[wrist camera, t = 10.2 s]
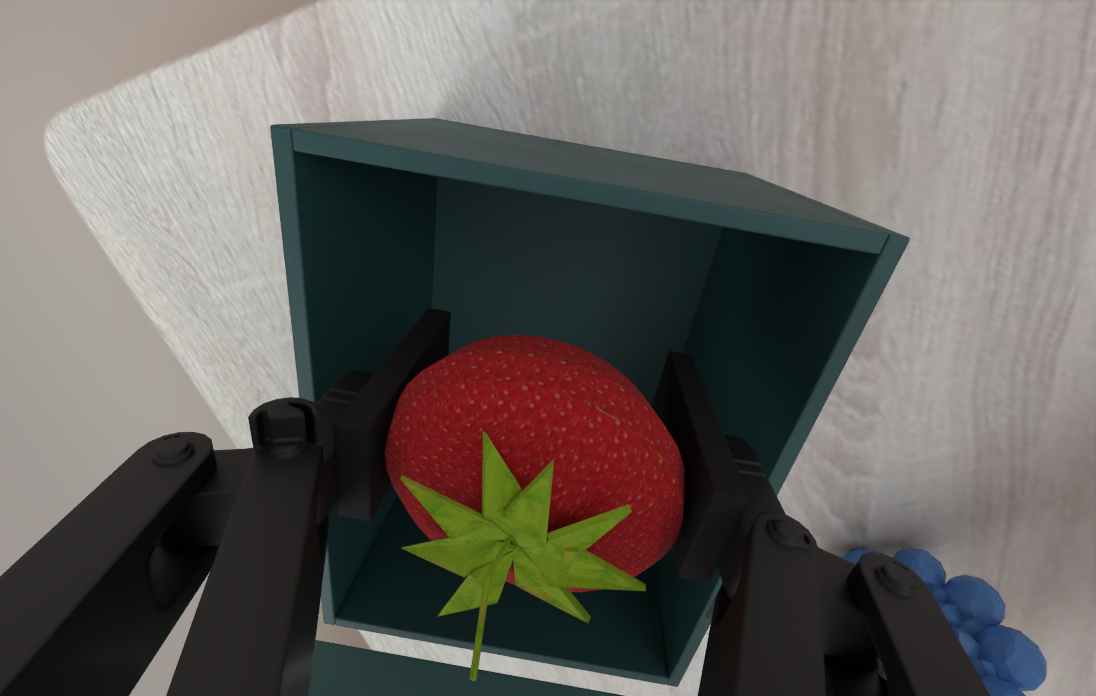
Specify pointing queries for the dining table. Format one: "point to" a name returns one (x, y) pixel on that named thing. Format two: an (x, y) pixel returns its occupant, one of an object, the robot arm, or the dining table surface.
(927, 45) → the dining table surface
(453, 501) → the strawberry
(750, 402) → the carton
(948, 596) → the blue knobby cluster
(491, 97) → the dining table surface
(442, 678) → the flap
